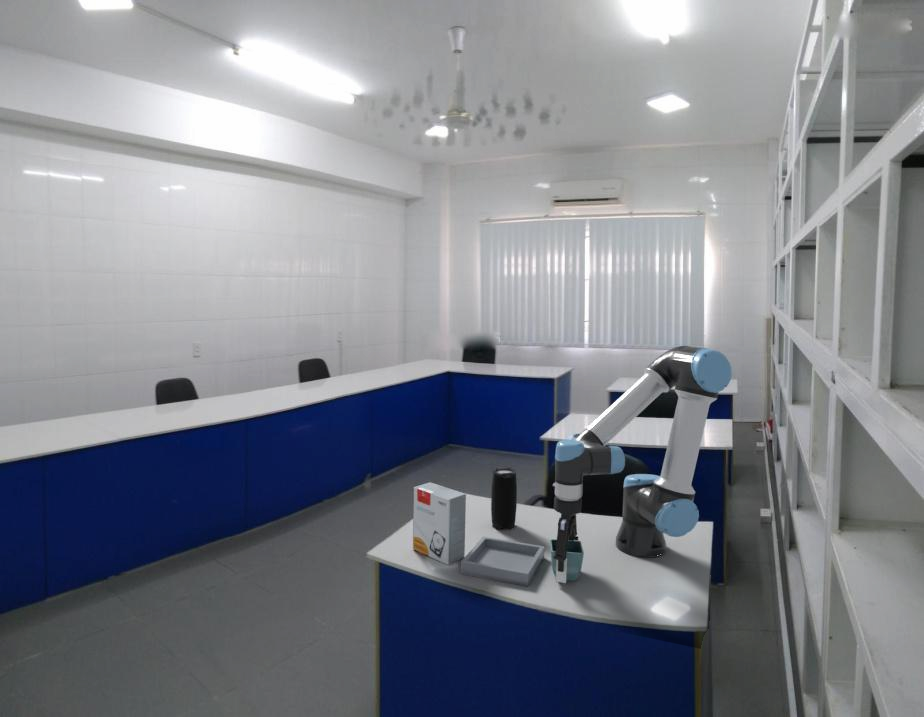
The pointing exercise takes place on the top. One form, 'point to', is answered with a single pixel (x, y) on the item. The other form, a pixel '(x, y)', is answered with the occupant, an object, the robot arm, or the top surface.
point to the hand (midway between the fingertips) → (565, 571)
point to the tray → (503, 560)
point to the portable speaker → (503, 498)
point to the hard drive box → (439, 522)
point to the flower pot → (569, 558)
